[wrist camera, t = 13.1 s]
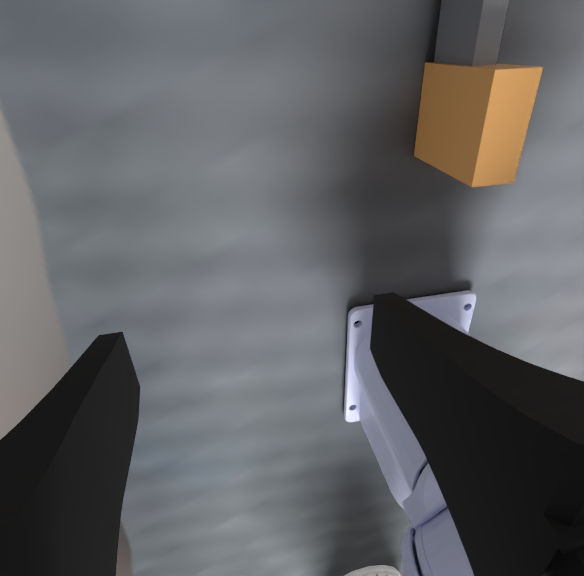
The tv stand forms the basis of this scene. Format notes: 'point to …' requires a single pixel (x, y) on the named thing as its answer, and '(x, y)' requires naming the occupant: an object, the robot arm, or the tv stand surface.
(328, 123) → the tv stand surface
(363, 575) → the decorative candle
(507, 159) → the grey handled mallet
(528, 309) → the tv stand surface
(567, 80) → the tv stand surface
